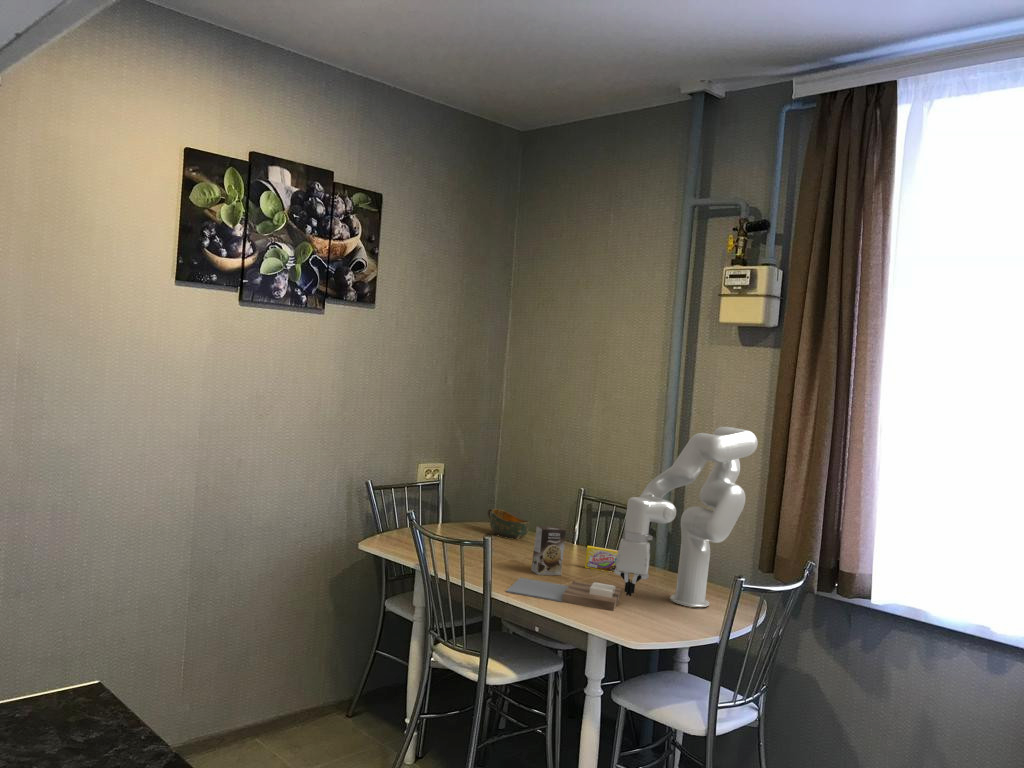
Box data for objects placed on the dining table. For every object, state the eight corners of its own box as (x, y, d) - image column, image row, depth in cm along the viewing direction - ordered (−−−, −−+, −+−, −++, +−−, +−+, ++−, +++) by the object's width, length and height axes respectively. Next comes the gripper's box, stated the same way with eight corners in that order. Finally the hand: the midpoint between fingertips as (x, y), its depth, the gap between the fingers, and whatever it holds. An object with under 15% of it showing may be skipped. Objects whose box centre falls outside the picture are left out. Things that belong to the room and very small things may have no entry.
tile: (593, 588, 270) (593, 582, 270) (614, 591, 268) (615, 585, 268) (589, 594, 262) (590, 587, 262) (611, 597, 260) (612, 591, 260)
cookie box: (538, 575, 289) (543, 529, 289) (530, 570, 295) (535, 525, 295) (561, 575, 293) (566, 530, 292) (554, 570, 299) (559, 526, 298)
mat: (520, 579, 281) (520, 577, 281) (572, 588, 277) (572, 586, 277) (506, 592, 263) (506, 590, 263) (561, 602, 258) (562, 600, 258)
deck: (572, 588, 276) (573, 580, 276) (620, 596, 272) (621, 589, 272) (562, 601, 259) (563, 593, 259) (613, 610, 255) (614, 602, 255)
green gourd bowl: (510, 530, 363) (513, 507, 363) (530, 542, 345) (533, 517, 344) (483, 530, 358) (486, 507, 357) (502, 542, 339) (504, 517, 339)
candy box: (584, 568, 308) (586, 546, 307) (585, 567, 310) (587, 545, 309) (628, 575, 304) (630, 553, 304) (628, 574, 306) (631, 552, 306)
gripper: (660, 538, 264) (653, 596, 265) (613, 531, 268) (606, 588, 268) (658, 543, 257) (651, 601, 257) (610, 535, 261) (603, 593, 261)
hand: (628, 594), depth 263 cm, fingers closed
